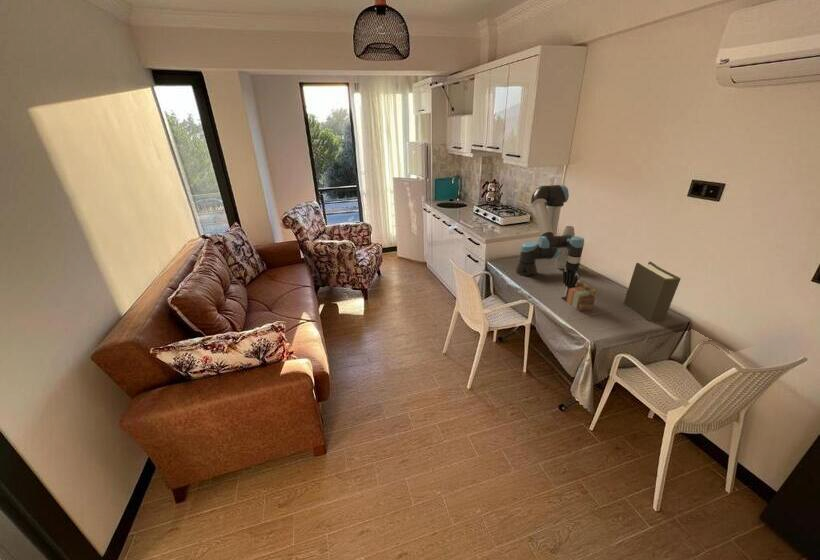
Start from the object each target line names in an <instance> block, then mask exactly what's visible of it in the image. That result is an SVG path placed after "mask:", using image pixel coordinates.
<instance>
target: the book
mask: <svg viewBox="0 0 820 560" xmlns="http://www.w3.org/2000/svg"><path fill="white" fill-rule="evenodd" d="M681 279H682V278H681V277H679V276H677V275H675V274H672V273H671V272H669V271H667V270H665V269H663V268H662V267H660V266H658V265H656V264H655V263H654V262H652V261H648V263H647V264H641V263H640V262H636V263H635V266H634V270H633V272H632V276H631V278H630V282H629V285H628V288H627V290H626V294H625V299H624V302H623V304H624V305H626V306H628V307H629V308H631V309H632V310H633V311H635V312H637V313H638V314H639V315H640V316H642V317H643V318H645V319H646V321H648V322H653V323H656V322H657V321H658V322H662V320H663V321H665V320H666V318H667V314H668V312H669V309H670V307H671V304H672V303H673V299H674V297H675V294H676V291H677V289H678V287H679V284H680V282H681ZM658 322H657V323H658Z"/></svg>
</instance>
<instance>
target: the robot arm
mask: <svg viewBox="0 0 820 560" xmlns="http://www.w3.org/2000/svg"><path fill="white" fill-rule="evenodd" d="M569 197H570V193H569V188H568V187H567V186H566V185H565V184H553V185H552V184H551V185H541V186H538V187H537V188H536V189H535V190H534V191H533V193H532V195H531V198H530V204H531V206H532V208H534V214H535V216H536V221H537V227H538V229H539V234H540V237H539V238H538V241H537V242H536V241H532V240H531V241H526V242H523V243H522V244H521V246H520V252H519V262H518V263H517V265H516V268H515V272H516V273H517V274H518V275H520V276H525V277H532V276H535V275H537V273H538V270H537V264H536V262H537V260H554V259H555V258H556V257H557V256H558V254H559V248H568V249H569V251H568V257H567V262H566V268H564V269H562V274H563V275H562V276H563V277H562V278H563V279H562V280H563V281H562V282H563V284H564V285H565V291H564V297H566V296H567V291H568V288H569V287H573V286H575V285H576V283H577V280H579V279H580V277H581V275H580V274H579V273H578V272H579V271H578V270H579V269H580V265H581V259H582V254H583V249H584V246H585V239H584V238H583V237H581V236H575V237H573V236H572V235H570V234H564V235H557V232H558V226H559V220H560V214H561V208H562V207H564V205H565V203H567V202H568V200H569V199H570V198H569Z"/></svg>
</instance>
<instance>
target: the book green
mask: <svg viewBox="0 0 820 560" xmlns="http://www.w3.org/2000/svg"><path fill="white" fill-rule="evenodd" d="M589 295H590V292H589V291H587V290H580V291H576V292H574V296H573V301H572V305H571V307H572V308H574V309H576V307H577V303H578V298H581V297H585V296H589Z"/></svg>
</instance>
